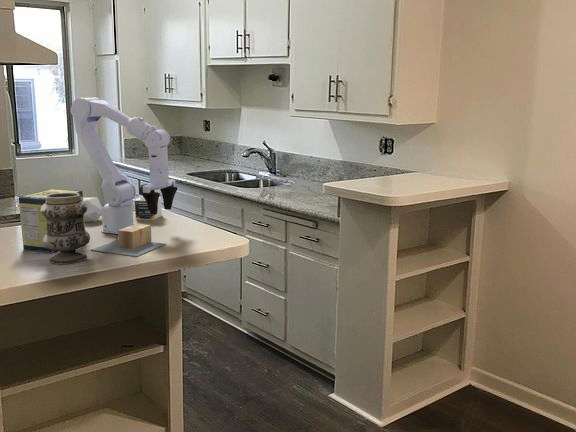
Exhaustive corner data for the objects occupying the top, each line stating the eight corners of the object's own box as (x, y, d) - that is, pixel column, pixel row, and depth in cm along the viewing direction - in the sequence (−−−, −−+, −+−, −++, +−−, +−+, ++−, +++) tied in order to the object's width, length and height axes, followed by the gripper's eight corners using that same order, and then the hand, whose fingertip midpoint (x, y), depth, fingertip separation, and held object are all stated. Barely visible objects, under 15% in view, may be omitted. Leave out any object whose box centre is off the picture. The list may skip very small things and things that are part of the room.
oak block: (137, 239, 182) (118, 246, 174) (136, 223, 181) (117, 230, 173) (151, 241, 180) (133, 248, 172) (150, 225, 179) (132, 231, 171)
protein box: (87, 240, 183) (83, 190, 179) (51, 253, 168) (47, 199, 165) (59, 237, 186) (54, 188, 183) (22, 250, 172) (17, 197, 168)
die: (88, 226, 202) (104, 202, 203) (66, 213, 202) (82, 188, 204) (95, 229, 210) (111, 206, 212) (74, 216, 211) (90, 193, 212)
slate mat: (90, 250, 171) (90, 249, 171) (121, 239, 184) (121, 238, 184) (136, 257, 165) (136, 255, 165) (165, 244, 178) (165, 243, 178)
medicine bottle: (135, 219, 210) (133, 186, 207) (143, 215, 217) (141, 182, 214) (154, 220, 209) (153, 186, 206) (162, 216, 215) (160, 183, 213)
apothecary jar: (84, 250, 171) (79, 189, 167) (97, 260, 161) (92, 195, 157) (40, 257, 165) (34, 193, 161) (50, 268, 155) (44, 200, 151)
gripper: (155, 172, 177) (157, 217, 180) (182, 166, 190) (184, 208, 193) (136, 171, 179) (138, 215, 182) (164, 165, 192) (166, 206, 195)
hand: (160, 211), depth 188 cm, fingers open, 7 cm apart
